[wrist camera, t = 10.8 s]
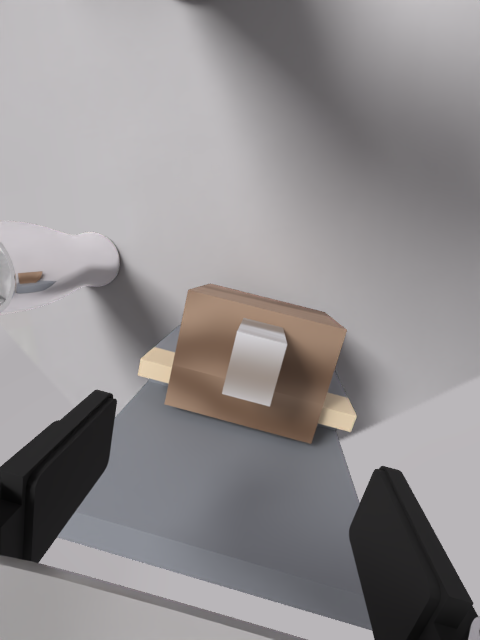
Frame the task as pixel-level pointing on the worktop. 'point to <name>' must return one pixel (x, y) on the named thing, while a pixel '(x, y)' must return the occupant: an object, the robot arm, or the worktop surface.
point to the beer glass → (50, 264)
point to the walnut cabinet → (254, 361)
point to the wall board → (229, 500)
